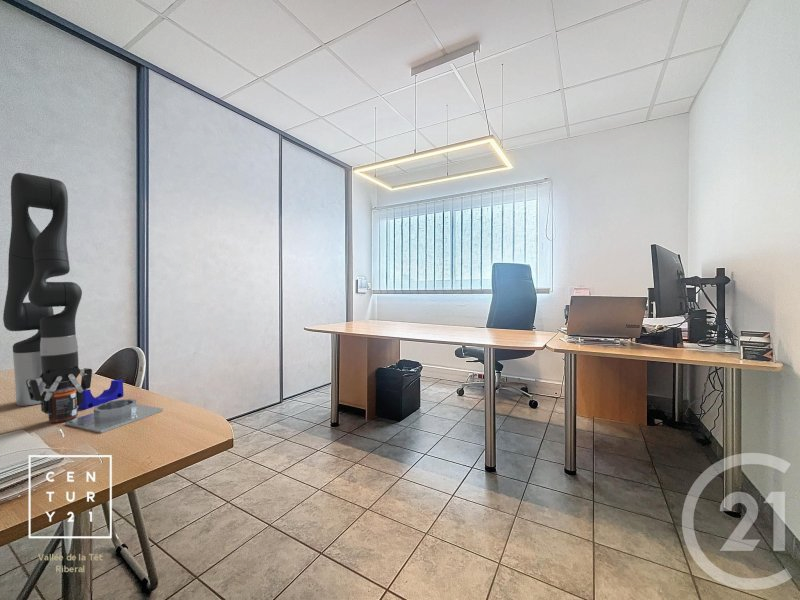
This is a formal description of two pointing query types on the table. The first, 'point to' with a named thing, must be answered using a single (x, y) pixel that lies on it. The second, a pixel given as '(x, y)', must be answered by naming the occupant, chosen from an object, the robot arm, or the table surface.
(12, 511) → the table surface
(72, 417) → the supplement bottle
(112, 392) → the blue notched bracket
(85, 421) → the duct panel
